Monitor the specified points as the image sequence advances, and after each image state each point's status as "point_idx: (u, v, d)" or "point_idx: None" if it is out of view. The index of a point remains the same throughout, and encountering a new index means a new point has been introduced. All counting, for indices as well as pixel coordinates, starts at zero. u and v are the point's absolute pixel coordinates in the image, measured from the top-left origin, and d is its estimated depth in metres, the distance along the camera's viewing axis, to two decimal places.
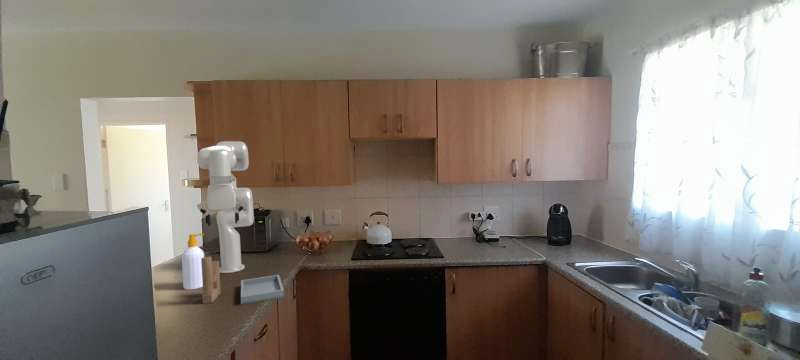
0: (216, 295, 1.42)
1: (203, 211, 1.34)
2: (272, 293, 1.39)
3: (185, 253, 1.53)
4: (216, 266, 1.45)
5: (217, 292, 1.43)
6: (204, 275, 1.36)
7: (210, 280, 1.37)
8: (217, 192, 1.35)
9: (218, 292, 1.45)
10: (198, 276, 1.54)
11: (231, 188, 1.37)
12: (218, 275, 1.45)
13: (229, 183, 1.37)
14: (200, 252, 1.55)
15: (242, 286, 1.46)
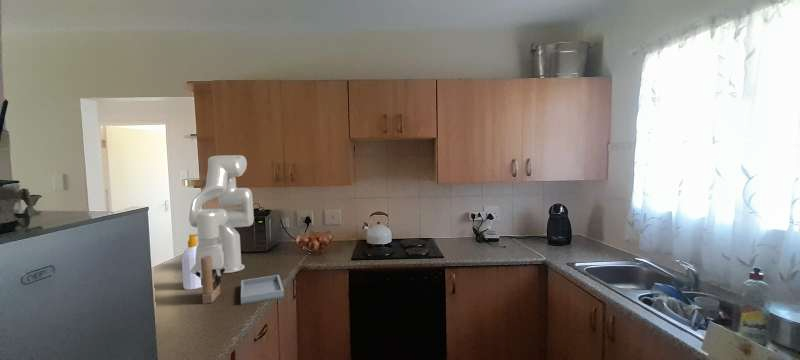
0: (216, 295, 1.42)
1: (198, 274, 1.39)
2: (272, 293, 1.39)
3: (185, 253, 1.53)
4: None
5: (217, 292, 1.43)
6: (204, 275, 1.36)
7: (209, 280, 1.37)
8: (205, 254, 1.38)
9: (218, 292, 1.44)
10: None
11: (219, 249, 1.40)
12: None
13: (217, 244, 1.40)
14: None
15: (242, 286, 1.46)
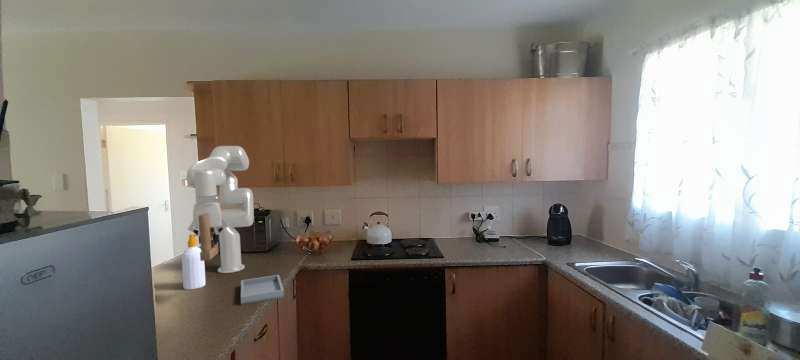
0: (214, 253, 1.42)
1: (196, 232, 1.38)
2: (272, 293, 1.39)
3: (185, 253, 1.53)
4: None
5: (215, 251, 1.43)
6: (202, 232, 1.36)
7: (207, 237, 1.36)
8: (202, 211, 1.37)
9: (216, 251, 1.44)
10: (198, 276, 1.54)
11: (217, 207, 1.40)
12: None
13: (215, 202, 1.39)
14: None
15: (242, 286, 1.46)
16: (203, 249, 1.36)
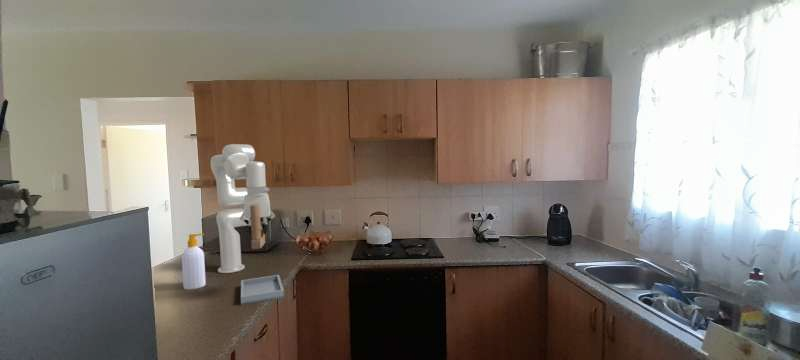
0: (263, 243, 1.47)
1: (247, 222, 1.44)
2: (272, 293, 1.39)
3: (185, 253, 1.53)
4: None
5: (263, 241, 1.48)
6: (253, 221, 1.41)
7: (258, 226, 1.42)
8: (253, 202, 1.43)
9: (264, 241, 1.49)
10: (198, 276, 1.54)
11: (266, 197, 1.45)
12: None
13: (264, 193, 1.45)
14: (200, 252, 1.55)
15: (242, 286, 1.46)
16: (254, 238, 1.41)
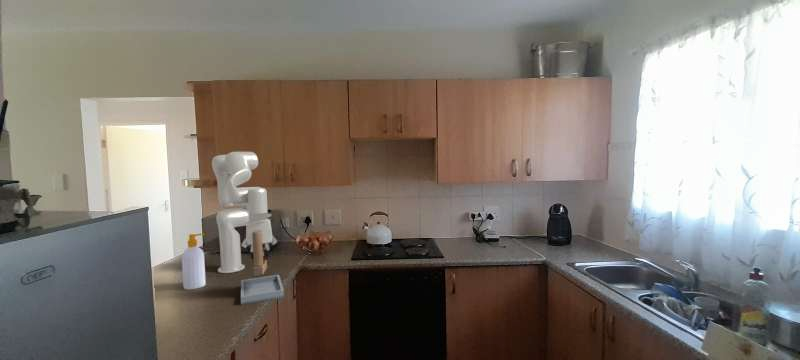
0: (265, 268, 1.47)
1: (249, 248, 1.44)
2: (272, 293, 1.39)
3: (185, 253, 1.53)
4: None
5: (265, 266, 1.49)
6: (255, 248, 1.41)
7: (260, 253, 1.42)
8: (255, 228, 1.43)
9: (266, 266, 1.50)
10: (198, 276, 1.54)
11: (268, 224, 1.46)
12: None
13: (266, 219, 1.46)
14: (200, 252, 1.55)
15: (242, 286, 1.46)
16: (256, 264, 1.42)
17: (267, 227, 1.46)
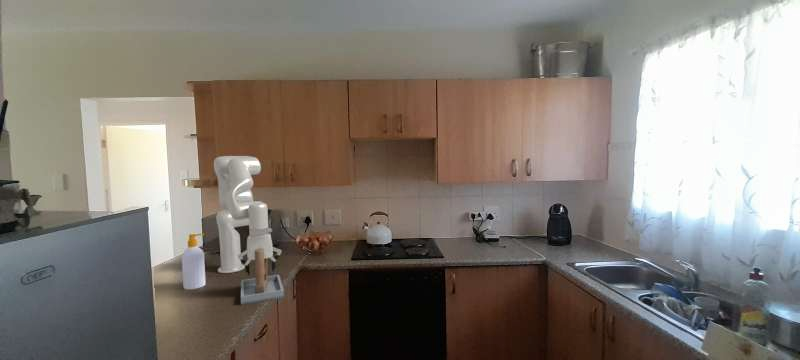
0: (265, 286, 1.48)
1: (243, 261, 1.44)
2: (272, 293, 1.39)
3: (185, 253, 1.53)
4: (264, 259, 1.51)
5: (266, 284, 1.49)
6: (257, 267, 1.42)
7: (262, 272, 1.43)
8: (256, 244, 1.44)
9: (266, 284, 1.51)
10: (198, 276, 1.54)
11: (269, 239, 1.46)
12: (266, 267, 1.51)
13: (267, 234, 1.46)
14: (200, 252, 1.55)
15: (242, 286, 1.46)
16: (258, 283, 1.43)
17: (268, 242, 1.46)
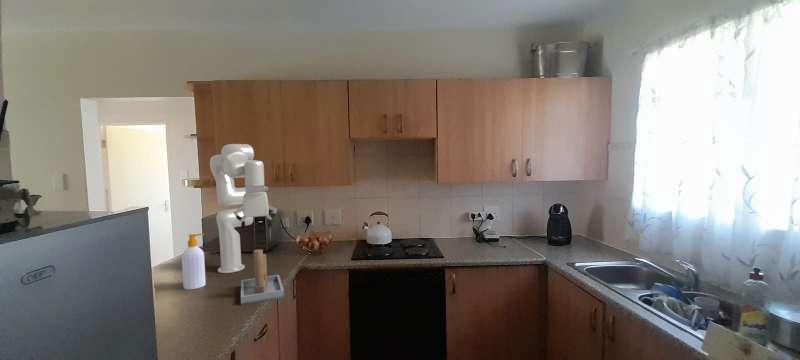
0: (265, 286, 1.48)
1: (239, 218, 1.44)
2: (272, 293, 1.39)
3: (185, 253, 1.53)
4: (264, 259, 1.51)
5: (266, 284, 1.49)
6: (256, 267, 1.42)
7: (261, 272, 1.43)
8: (252, 200, 1.44)
9: (266, 284, 1.51)
10: (198, 276, 1.54)
11: (265, 196, 1.46)
12: (266, 267, 1.51)
13: (263, 192, 1.46)
14: (200, 252, 1.55)
15: (242, 286, 1.46)
16: (257, 283, 1.43)
17: (264, 200, 1.46)
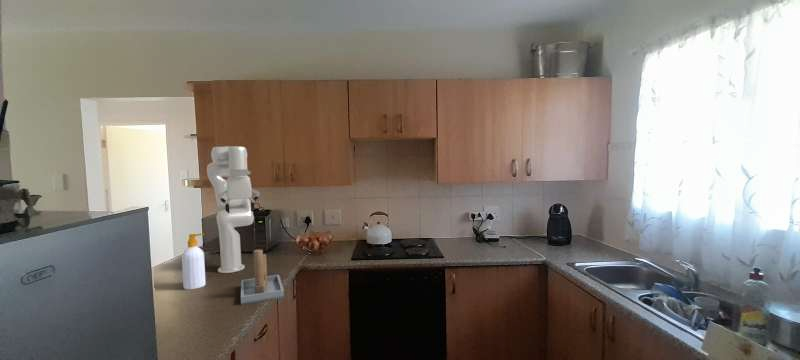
0: (265, 286, 1.48)
1: (223, 200, 1.52)
2: (272, 293, 1.39)
3: (185, 253, 1.53)
4: (264, 259, 1.51)
5: (266, 284, 1.49)
6: (256, 267, 1.42)
7: (261, 272, 1.43)
8: (235, 184, 1.52)
9: (266, 284, 1.51)
10: (198, 276, 1.54)
11: (247, 180, 1.55)
12: (266, 267, 1.51)
13: (246, 175, 1.55)
14: (200, 252, 1.55)
15: (242, 286, 1.46)
16: (257, 283, 1.43)
17: (247, 183, 1.55)
